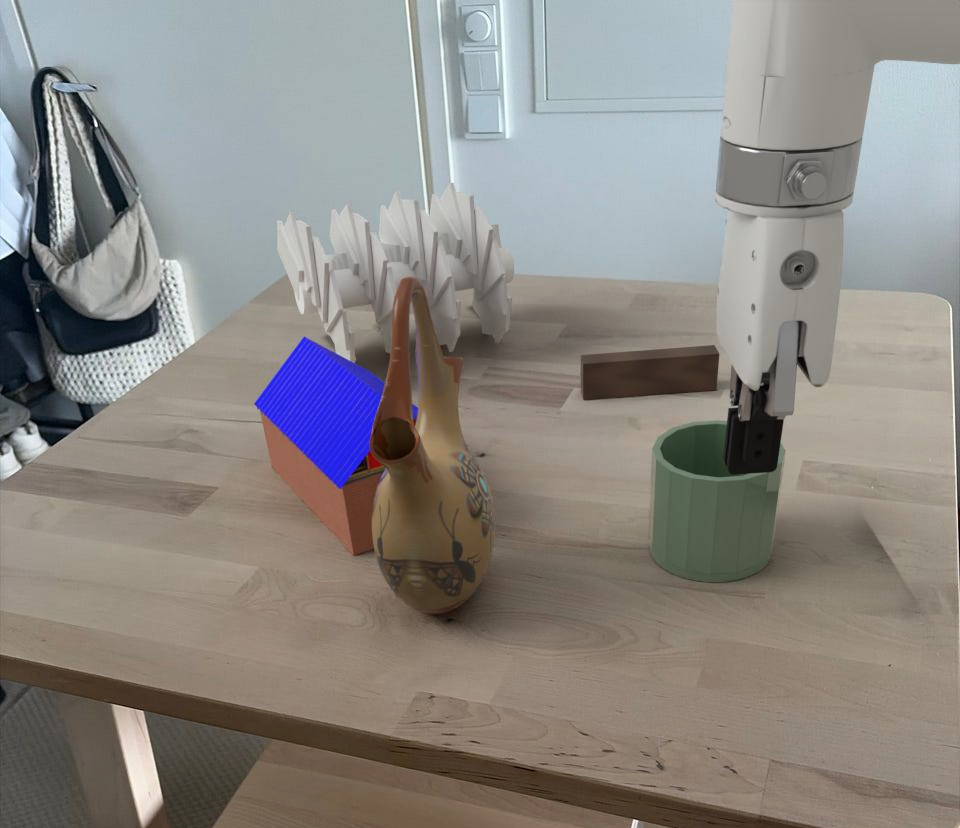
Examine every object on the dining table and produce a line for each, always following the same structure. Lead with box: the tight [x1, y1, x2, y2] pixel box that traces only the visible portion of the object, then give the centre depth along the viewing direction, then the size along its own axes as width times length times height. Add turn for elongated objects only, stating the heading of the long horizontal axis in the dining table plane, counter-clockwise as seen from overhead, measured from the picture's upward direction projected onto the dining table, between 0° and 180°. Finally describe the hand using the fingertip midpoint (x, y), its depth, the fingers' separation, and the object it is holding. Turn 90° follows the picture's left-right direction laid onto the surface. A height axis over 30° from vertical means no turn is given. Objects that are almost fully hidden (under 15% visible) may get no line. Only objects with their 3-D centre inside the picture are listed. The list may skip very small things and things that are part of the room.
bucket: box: [648, 419, 786, 583], centre depth 81 cm, size 10×10×9 cm
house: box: [253, 336, 469, 556], centre depth 92 cm, size 12×20×12 cm, turn 30°
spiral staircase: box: [276, 182, 515, 364], centre depth 115 cm, size 18×18×25 cm
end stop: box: [580, 344, 720, 401], centre depth 107 cm, size 14×2×4 cm, turn 92°
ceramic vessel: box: [369, 277, 496, 615], centre depth 74 cm, size 16×9×25 cm, turn 169°
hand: (749, 467), depth 68 cm, fingers closed
